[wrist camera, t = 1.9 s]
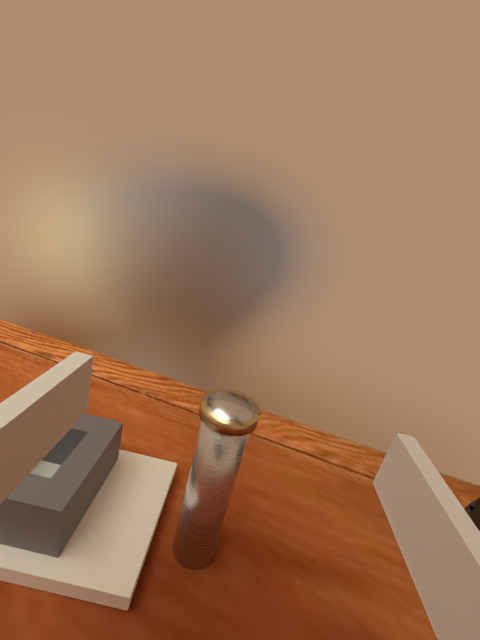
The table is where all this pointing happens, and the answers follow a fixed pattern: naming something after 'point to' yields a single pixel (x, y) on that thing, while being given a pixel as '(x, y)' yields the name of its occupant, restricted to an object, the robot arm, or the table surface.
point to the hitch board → (84, 517)
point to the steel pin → (213, 473)
